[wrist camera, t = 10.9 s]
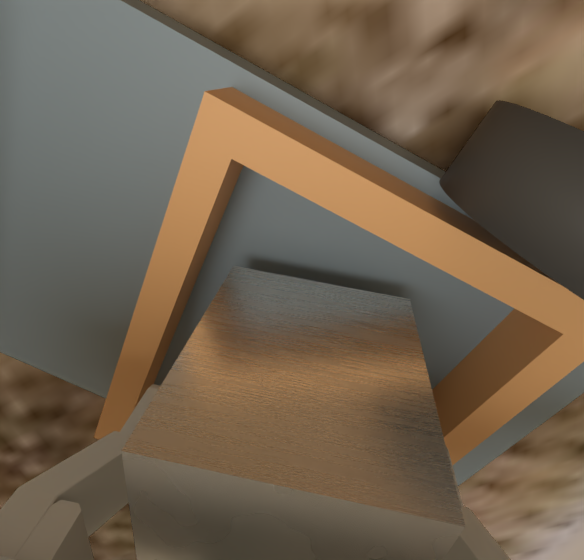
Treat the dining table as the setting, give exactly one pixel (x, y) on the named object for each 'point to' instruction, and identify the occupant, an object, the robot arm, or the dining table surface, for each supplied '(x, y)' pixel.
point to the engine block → (294, 433)
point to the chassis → (270, 219)
